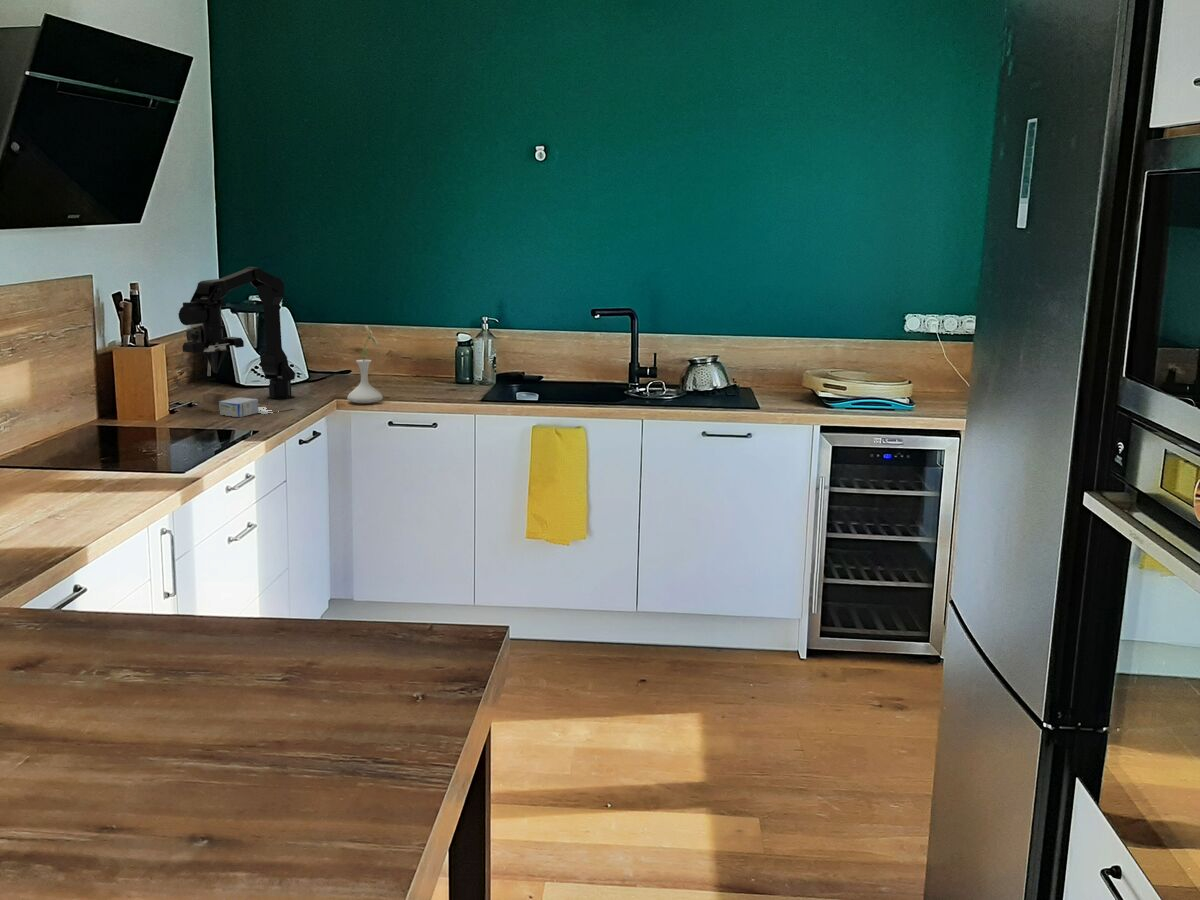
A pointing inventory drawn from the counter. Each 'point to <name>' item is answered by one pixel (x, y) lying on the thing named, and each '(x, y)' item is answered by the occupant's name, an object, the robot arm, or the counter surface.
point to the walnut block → (213, 400)
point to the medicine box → (238, 407)
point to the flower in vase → (365, 379)
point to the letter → (264, 410)
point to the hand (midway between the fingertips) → (215, 372)
